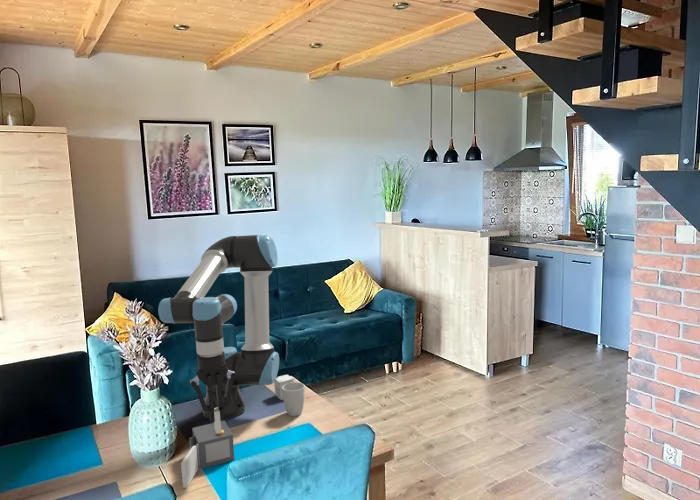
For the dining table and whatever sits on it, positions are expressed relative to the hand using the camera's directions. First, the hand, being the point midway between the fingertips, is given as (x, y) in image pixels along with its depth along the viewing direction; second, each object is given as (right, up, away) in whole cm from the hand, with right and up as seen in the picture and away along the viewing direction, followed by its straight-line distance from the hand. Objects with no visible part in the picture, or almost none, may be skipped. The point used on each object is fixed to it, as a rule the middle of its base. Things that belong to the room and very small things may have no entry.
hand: (218, 430), depth 150 cm
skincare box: (+13, -5, +54) cm, 55 cm away
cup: (+18, -7, +37) cm, 42 cm away
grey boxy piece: (-4, -11, +9) cm, 15 cm away
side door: (-7, -12, -3) cm, 14 cm away
